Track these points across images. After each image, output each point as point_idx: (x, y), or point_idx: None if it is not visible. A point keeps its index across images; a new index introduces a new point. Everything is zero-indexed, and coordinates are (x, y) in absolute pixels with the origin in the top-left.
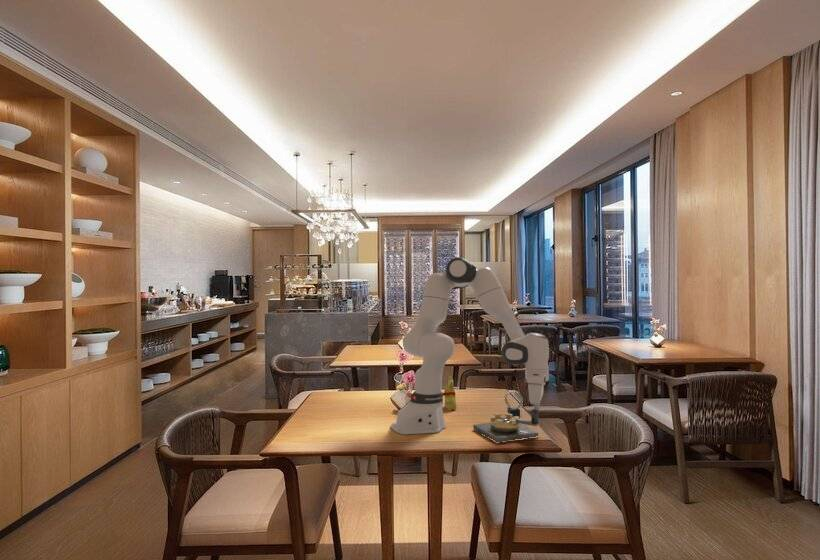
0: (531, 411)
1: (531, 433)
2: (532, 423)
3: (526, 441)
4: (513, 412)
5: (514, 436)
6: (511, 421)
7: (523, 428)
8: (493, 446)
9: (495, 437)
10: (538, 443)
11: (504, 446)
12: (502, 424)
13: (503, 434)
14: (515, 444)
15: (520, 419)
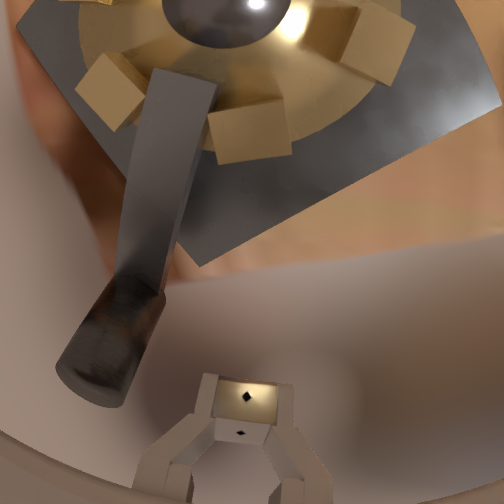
0: (72, 348)
1: None
2: (113, 276)
3: (119, 177)
4: None
5: (76, 110)
6: (79, 86)
7: (277, 170)
8: (9, 23)
9: (29, 8)
10: (113, 241)
11: (17, 72)
12: (81, 5)
13: None
14: (54, 119)
15: (161, 177)
